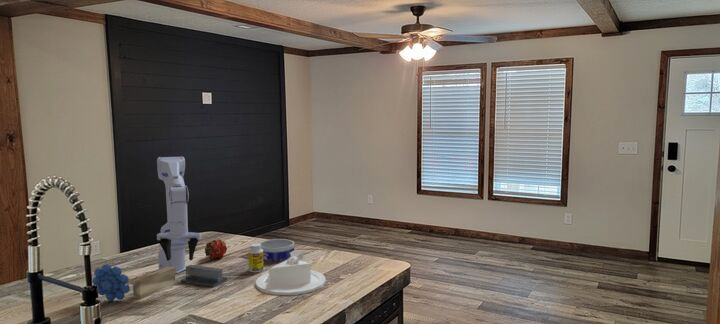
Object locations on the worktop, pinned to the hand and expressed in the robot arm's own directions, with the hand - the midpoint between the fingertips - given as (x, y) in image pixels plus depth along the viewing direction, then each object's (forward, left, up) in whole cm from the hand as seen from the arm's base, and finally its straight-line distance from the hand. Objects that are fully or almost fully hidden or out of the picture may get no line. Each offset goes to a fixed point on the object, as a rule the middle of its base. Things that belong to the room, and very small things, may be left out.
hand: (180, 259), depth 163 cm
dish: (+34, +17, -10) cm, 40 cm away
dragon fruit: (-10, +33, -10) cm, 36 cm away
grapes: (-12, -19, -10) cm, 24 cm away
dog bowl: (+13, +43, -10) cm, 46 cm away
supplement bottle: (+15, +24, -10) cm, 30 cm away
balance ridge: (+4, +7, -10) cm, 13 cm away
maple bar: (-6, -6, -10) cm, 13 cm away
